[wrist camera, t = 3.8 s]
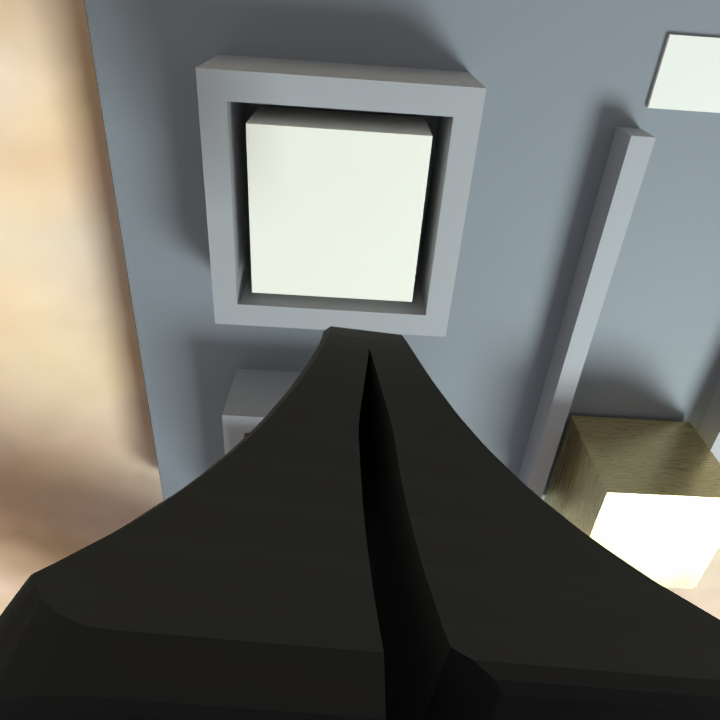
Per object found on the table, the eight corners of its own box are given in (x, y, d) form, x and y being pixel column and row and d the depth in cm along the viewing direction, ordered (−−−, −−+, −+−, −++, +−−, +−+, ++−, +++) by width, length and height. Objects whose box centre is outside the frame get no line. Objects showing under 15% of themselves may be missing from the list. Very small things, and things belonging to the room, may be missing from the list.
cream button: (406, 268, 17) (411, 302, 15) (263, 259, 17) (251, 292, 15) (424, 117, 15) (432, 136, 13) (259, 105, 14) (245, 123, 13)
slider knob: (650, 506, 22) (694, 588, 19) (543, 501, 22) (571, 582, 19) (689, 421, 20) (746, 499, 17) (570, 415, 20) (607, 492, 17)
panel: (684, 504, 25) (739, 596, 22) (179, 479, 25) (147, 569, 21) (933, 8, 15) (1112, 20, 12) (107, -55, 15) (22, -64, 11)
